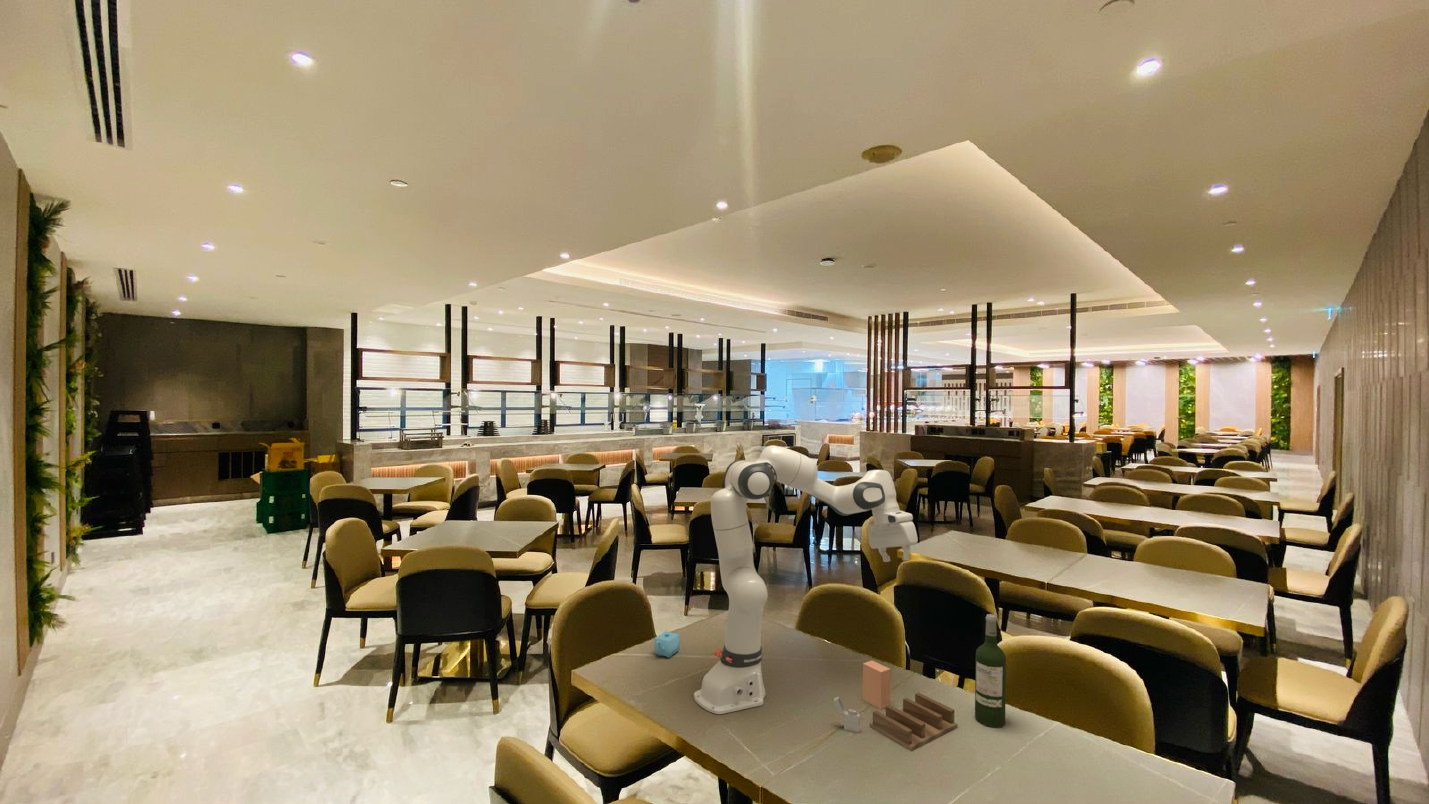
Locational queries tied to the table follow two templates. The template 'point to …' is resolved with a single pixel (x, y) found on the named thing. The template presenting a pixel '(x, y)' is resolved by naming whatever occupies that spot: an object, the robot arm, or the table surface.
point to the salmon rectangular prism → (876, 684)
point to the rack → (915, 721)
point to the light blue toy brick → (667, 644)
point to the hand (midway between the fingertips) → (896, 561)
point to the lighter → (848, 716)
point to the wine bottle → (990, 679)
